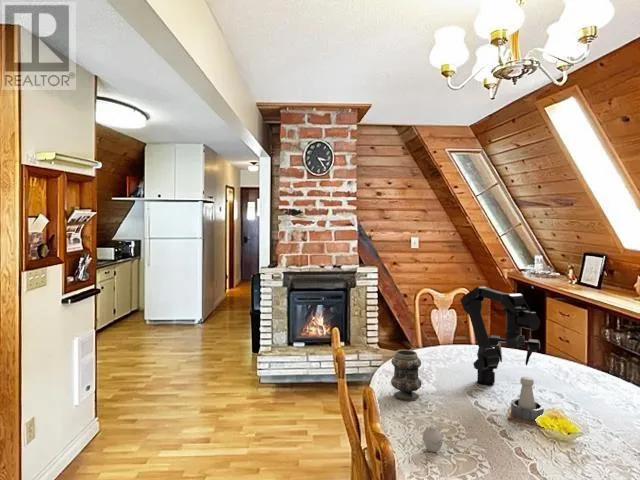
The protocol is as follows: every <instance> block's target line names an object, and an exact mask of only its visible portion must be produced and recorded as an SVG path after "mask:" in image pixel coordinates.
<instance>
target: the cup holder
mask: <svg viewBox="0 0 640 480" xmlns="http://www.w3.org/2000/svg"><path fill="white" fill-rule="evenodd" d="M534 401H535V406H536V409H525V408H521V407H519V406H518V403H519V398H514V399H512V400H511V402H510V406H509V411H508V414H507V421H511V422H517V423H522V424H525V425H526V424H527V425H532V426H536V427H537V426H538V425H537V423H536V421H535V419H536V418H537V417H538V416H540V415H542V414H543V413H544V412H546V411H547V410H544V408H545V406H544V404H543V403H541V402H539V401H537V400H534ZM546 413H547V412H546ZM538 427H539V426H538Z"/></svg>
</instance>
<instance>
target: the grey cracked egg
mask: <svg viewBox="0 0 640 480" xmlns="http://www.w3.org/2000/svg"><path fill="white" fill-rule="evenodd" d="M422 435H423V436H422V442H423V443H424V445H425V448H426V449H427V450H428V451H429V452H431V453H436V452H437V453H438V451H440V449H441V448H442V446H443V442H444V438H443V436H442V433H441V432H440V430H439V428H438V426H432V425H429V426H426V427H425V429H424V430H423V434H422Z"/></svg>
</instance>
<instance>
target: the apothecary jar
mask: <svg viewBox="0 0 640 480" xmlns="http://www.w3.org/2000/svg"><path fill="white" fill-rule="evenodd" d="M391 364H392V367H394V369H393V370H394V371H393V373H394V374H393V376H392V377H391V378H390V379H391V380H390V384H391V386H392V387H393V388H394V389H395V390H396V392H395V393H394V394H393V398H395V399H397V400H398V401H403V402H412V401H417V400H419V397H420V395H419V394H418V393H416V392H415V391H418V390H419V389H420V388H421V387H422V380H421V379H420V378H419V368H420V367H421V365H422V360H421V359H420V358H419V357H418V353H417V351H414V350H410V349H398V350H396V351H395V354H394V356H393V357H392V358H391Z"/></svg>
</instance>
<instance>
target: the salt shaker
mask: <svg viewBox="0 0 640 480" xmlns="http://www.w3.org/2000/svg"><path fill="white" fill-rule="evenodd" d="M519 381H520V384H521V389H520V393H519V394H520V395H519V398H518V399H519V403H518V406H519V407H521V408H525V409H536V406H535V401H536V400H535V397H534V391H533V387H532V386H534V385H535V382H534V379H533V378H532V377H529V376H522V377H520V380H519Z"/></svg>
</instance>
